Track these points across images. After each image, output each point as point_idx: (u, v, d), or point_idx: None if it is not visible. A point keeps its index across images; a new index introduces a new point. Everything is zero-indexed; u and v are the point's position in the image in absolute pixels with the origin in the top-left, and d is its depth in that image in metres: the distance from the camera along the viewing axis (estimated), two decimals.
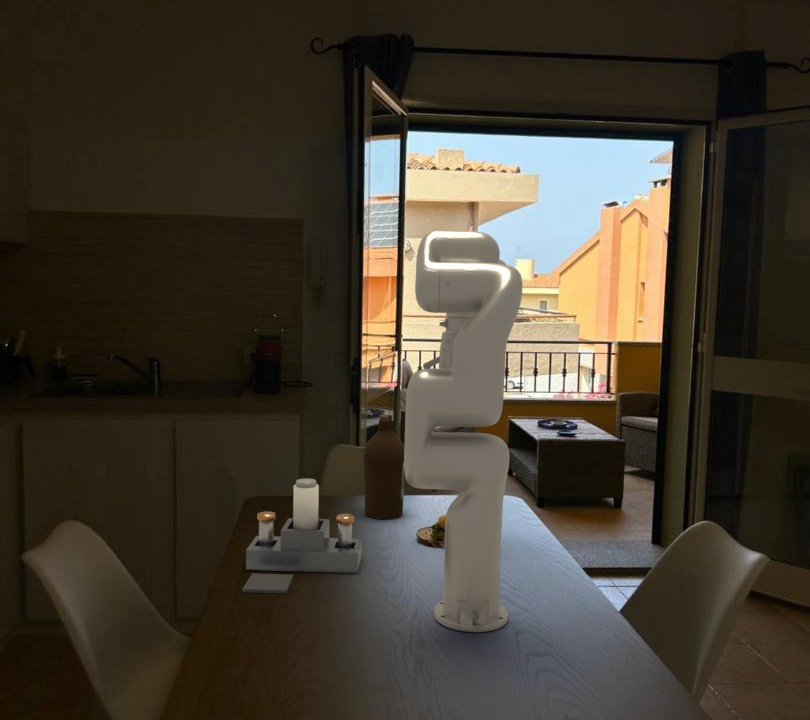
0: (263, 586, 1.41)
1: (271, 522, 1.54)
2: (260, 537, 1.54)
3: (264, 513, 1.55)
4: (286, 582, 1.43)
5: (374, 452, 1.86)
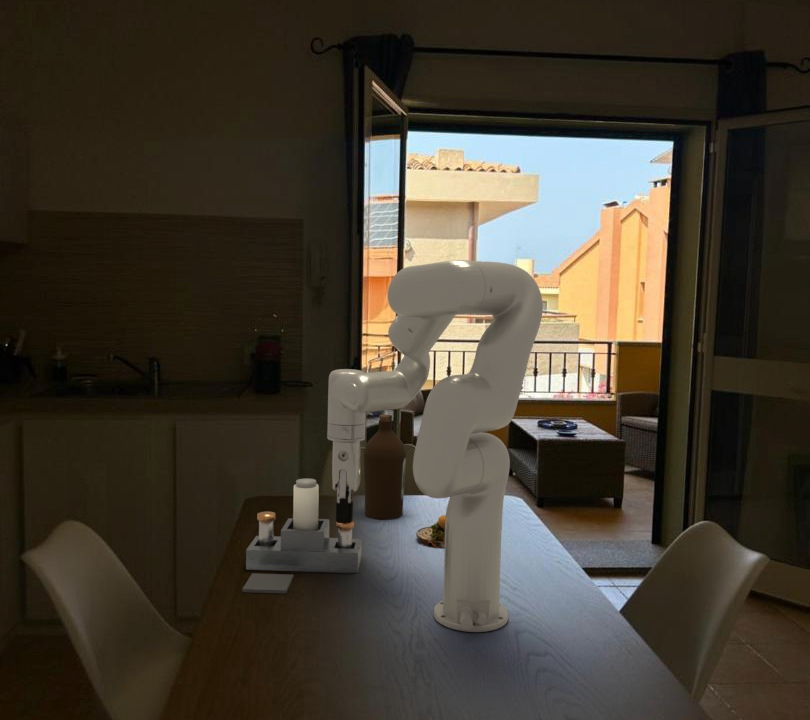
0: (263, 586, 1.41)
1: (271, 522, 1.54)
2: (260, 537, 1.54)
3: (264, 513, 1.55)
4: (286, 582, 1.43)
5: (374, 452, 1.86)
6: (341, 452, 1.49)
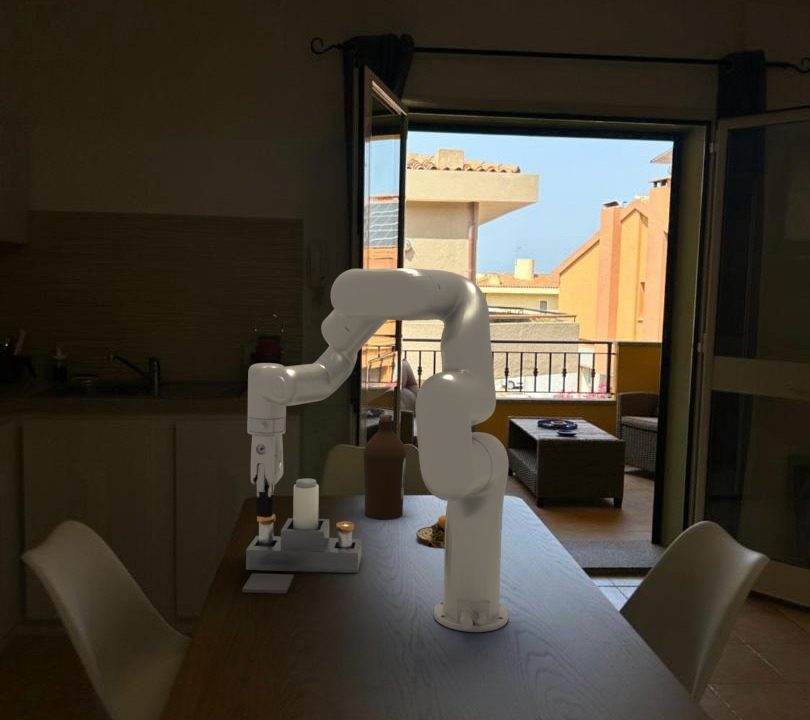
0: (263, 586, 1.41)
1: (271, 523, 1.54)
2: (260, 538, 1.54)
3: None
4: (286, 582, 1.43)
5: (374, 452, 1.86)
6: (259, 446, 1.50)
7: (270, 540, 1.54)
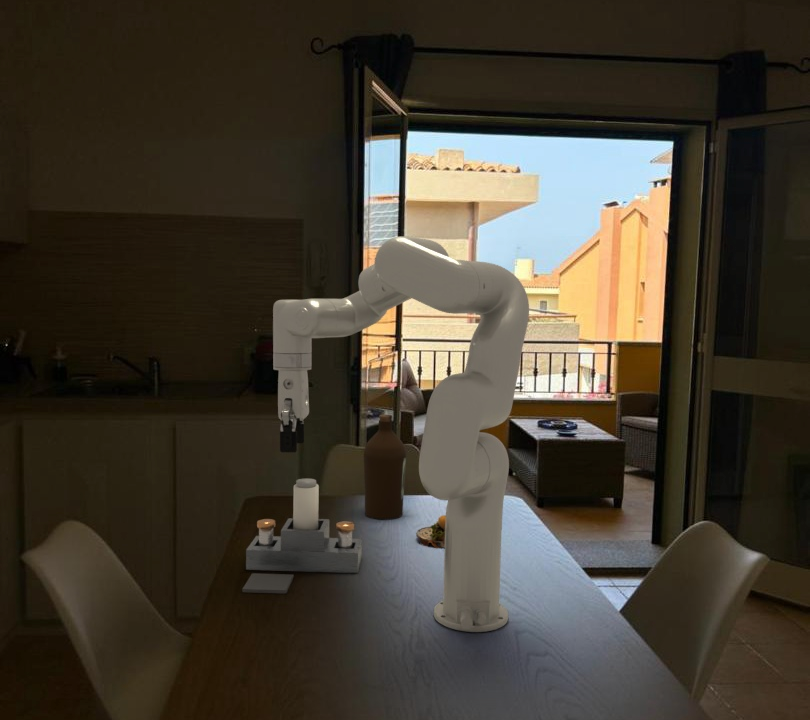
0: (263, 586, 1.41)
1: (271, 530, 1.54)
2: (260, 545, 1.54)
3: (264, 521, 1.55)
4: (286, 582, 1.43)
5: (374, 452, 1.86)
6: (286, 381, 1.49)
7: None
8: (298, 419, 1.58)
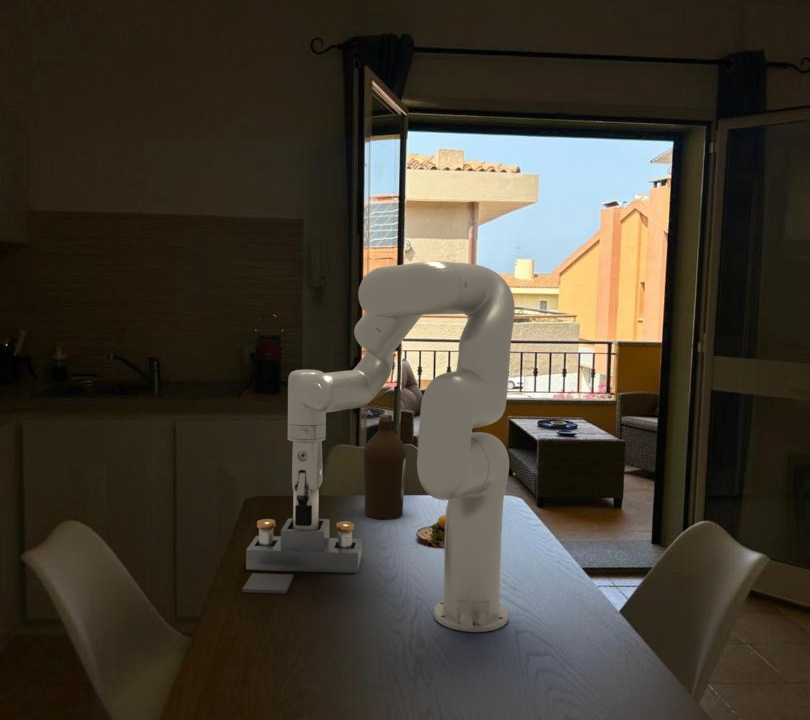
0: (263, 586, 1.41)
1: (271, 530, 1.54)
2: (260, 545, 1.54)
3: (264, 521, 1.55)
4: (286, 582, 1.43)
5: (374, 452, 1.86)
6: (301, 452, 1.50)
7: None
8: None
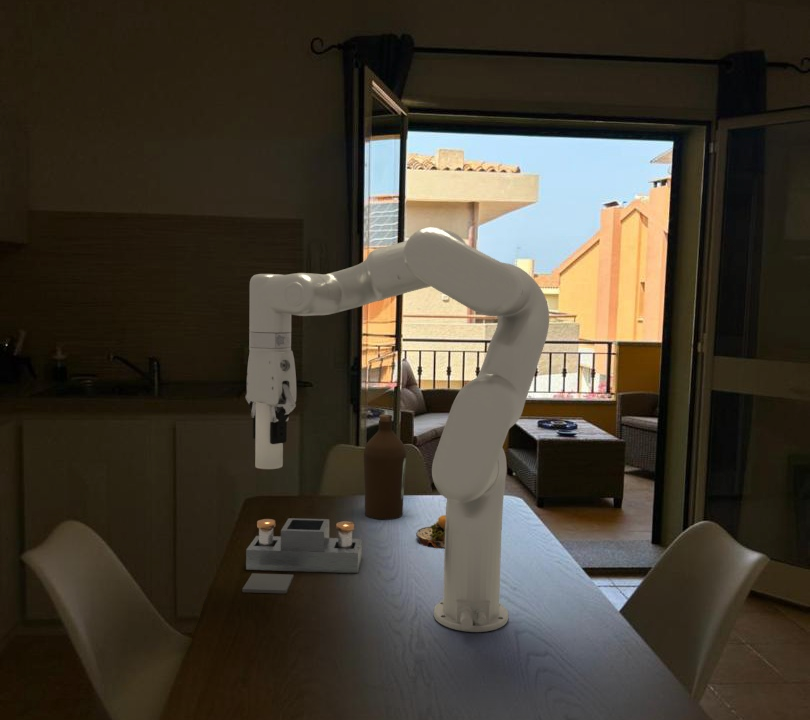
0: (263, 586, 1.41)
1: (271, 530, 1.54)
2: (260, 545, 1.54)
3: (264, 521, 1.55)
4: (286, 582, 1.43)
5: (374, 452, 1.86)
6: (279, 362, 1.37)
7: None
8: None
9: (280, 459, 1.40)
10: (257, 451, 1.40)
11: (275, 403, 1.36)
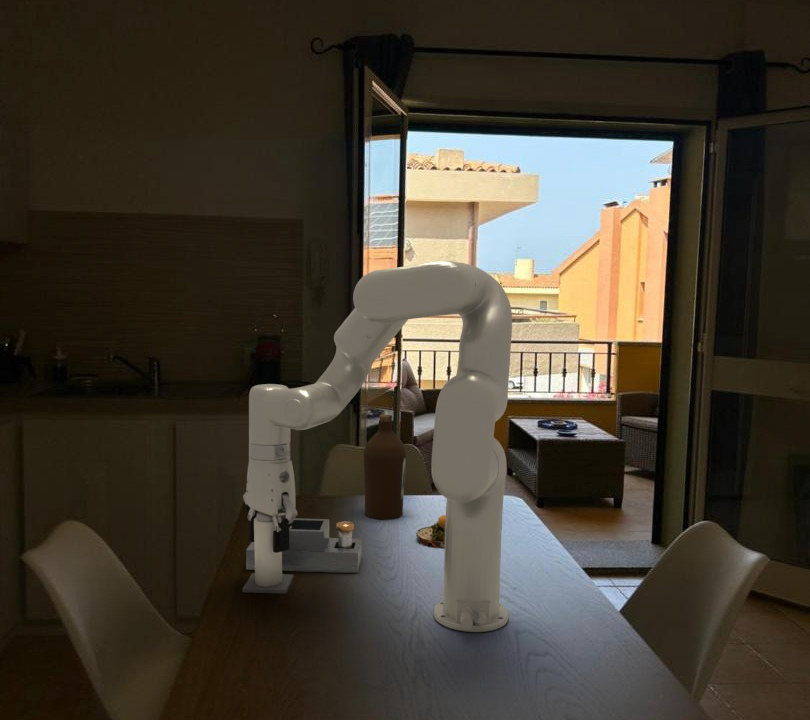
0: (263, 586, 1.41)
1: None
2: None
3: None
4: (286, 582, 1.43)
5: (374, 452, 1.86)
6: None
7: None
8: None
9: (280, 575, 1.42)
10: (257, 568, 1.41)
11: (274, 515, 1.38)
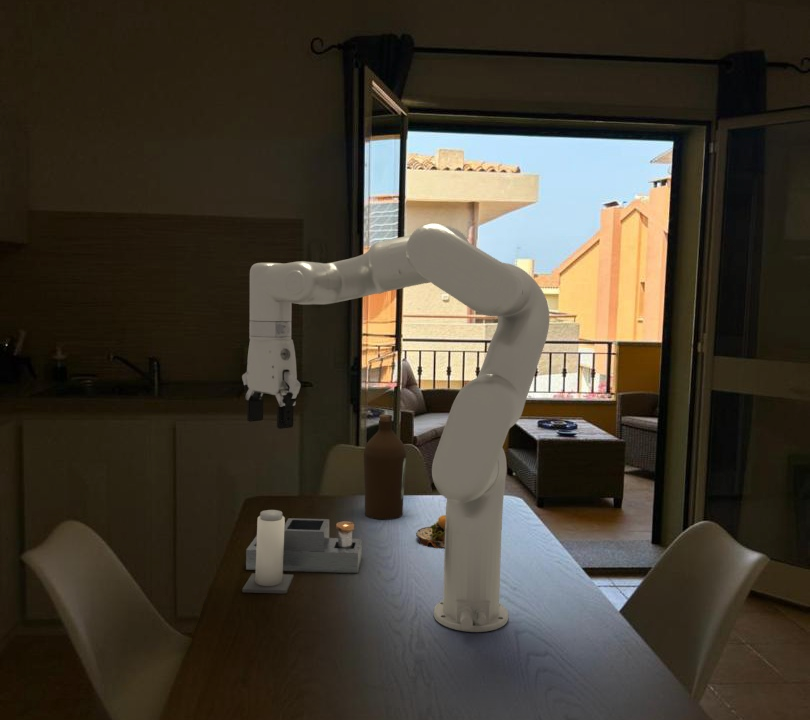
0: (263, 586, 1.41)
1: None
2: None
3: None
4: (286, 582, 1.43)
5: (374, 452, 1.86)
6: (279, 351, 1.37)
7: None
8: (257, 394, 1.44)
9: (280, 575, 1.42)
10: (258, 567, 1.41)
11: (275, 392, 1.36)
